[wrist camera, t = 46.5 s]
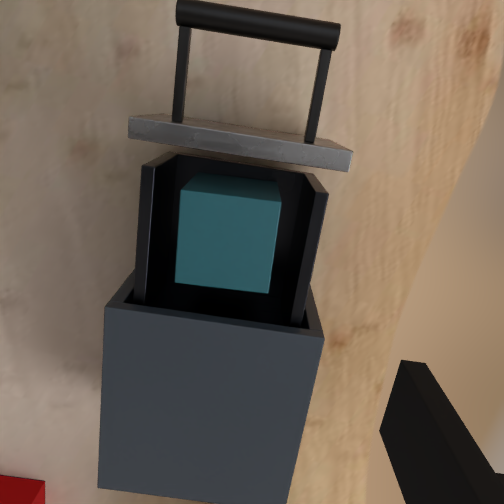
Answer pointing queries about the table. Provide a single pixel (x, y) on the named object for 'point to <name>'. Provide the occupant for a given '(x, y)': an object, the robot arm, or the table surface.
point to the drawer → (236, 175)
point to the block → (227, 232)
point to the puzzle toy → (21, 490)
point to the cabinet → (203, 402)
